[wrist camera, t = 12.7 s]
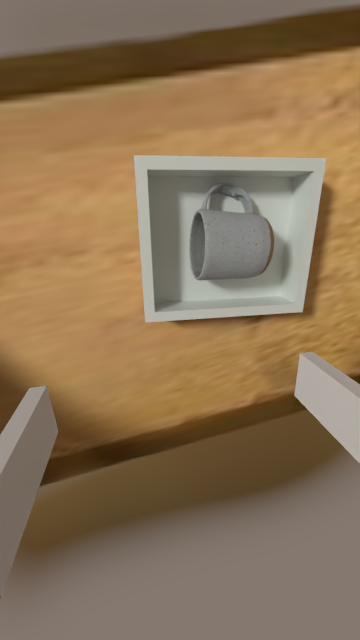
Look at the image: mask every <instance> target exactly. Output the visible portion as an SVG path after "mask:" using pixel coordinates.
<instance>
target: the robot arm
mask: <svg viewBox="0 0 360 640" xmlns="http://www.w3.org/2000/svg"><path fill="white" fill-rule="evenodd" d="M294 396H295V397H296V398H297V399H298V400H299V401H300V402H301V403H302V404H303V405H304V406H305V407H306V408H307V409H308V410H309V411H310V412H311V413H312V414H313V415H314V416H315V417H316V418H317V419H318V420H319V421H320V423H321V424H322V425H323V426H324V427H325V428H326V429H327V430H328V431H329V432H330V433H331V434H332V435H333V436H334V437H335V438H336V439H337V440H338V441H339V442H340V443H341V444H342V445H343V446H344V448H345V449H346V450H347V451H348V452H349V453H350V454H352V456H353V457H354V458H355V459H356V460H357V461H358V462H359V463H360V384H358V383H357V382H355V381H354V380H352V379H351V378H350V377H348V376H347V375H345V374H344V373H342V372H341V371H339V370H338V369H337V368H335V367H334V366H332V365H331V364H329V363H328V362H327V361H325V360H324V359H322V358H321V357H319V356H318V355H316V354H315V353H314V352H308V353H300V358H299V365H298V372H297V380H296V387H295V394H294ZM58 432H59V431H58V428H57V424H56V420H55V416H54V412H53V408H52V404H51V400H50V396H49V392H48V388H47V386H41V387H33V388H29V390H28V391H27V393H26V394H25V396H24V398H23V399H22V401H21V402H20V404H19V406H18V407H17V409H16V410H15V412H14V414H13V415H12V417H11V418H10V420H9V422H8V423H7V425H6V427H5V428H4V430H3V431H2V433H1V435H0V598H1V594H2V592H3V589H4V586H5V583H6V580H7V577H8V575H9V571H10V569H11V566H12V563H13V560H14V557H15V555H16V552H17V549H18V546H19V543H20V540H21V537H22V535H23V532H24V529H25V526H26V523H27V520H28V517H29V515H30V512H31V509H32V506H33V503H34V500H35V497H36V495H37V492H38V489H39V486H40V483H41V480H42V477H43V475H44V472H45V469H46V466H47V463H48V460H49V457H50V455H51V452H52V449H53V446H54V443H55V440H56V437H57V435H58Z"/></svg>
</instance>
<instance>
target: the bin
mask: <svg viewBox="0 0 360 640" xmlns="http://www.w3.org/2000/svg"><path fill="white" fill-rule="evenodd" d="M134 163H135V178H136V193H137V208H138V222H139V237H140V252H141V267H142V281H143V296H144V311H145V322H159V321H174V320H190V319H205V318H220V317H235V316H250V315H265V314H280V313H296V312H303V306H304V300H305V293H306V287H307V280H308V274H309V267H310V261H311V255H312V248H313V242H314V235H315V229H316V222H317V216H318V209H319V203H320V196H321V190H322V183H323V177H324V170H325V164H326V158H275V157H210V156H145V155H134ZM218 183H232V184H235V185H237V186H239V187H241V188H242V189H243V190H245V191H246V193H247V194H248V195H249V197H250V200H251V202H252V206H253V214H257V215H260V216H263V217H265V218H266V219H267V220H268V221H269V223H270V225H271V226H272V229H273V234H274V250H273V255H272V259H271V261H270V263H269V265H268V267H267V269H266V270H265V271H264V272H263V273H262V274H260V275H258V276H256V277H251V278H245V279H222V280H202V281H200V280H196V279H195V278H194V276H193V274H192V271H191V266H190V258H189V240H190V230H191V225H192V220H193V217H194V214H195V213H196V211H197V210H199V209H201V207H202V203H203V200H204V198H205V196H206V195H207V193H208V191H209V190H210V189H211V188H212V187H213V186H214V185H216V184H218ZM207 210H217V211H227V212H237V213H245V211H244V207H243V204H242V203H241V201H240V200H239V199H238V198H237V197H236V196H235V197H233V196H231V195H228V194H222V193H215V194H212V195H211V196H210V197H209V200H208V203H207Z"/></svg>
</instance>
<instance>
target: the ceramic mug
mask: <svg viewBox="0 0 360 640" xmlns="http://www.w3.org/2000/svg"><path fill="white" fill-rule="evenodd" d="M215 193H222V194H228V195H231V196H233V197H235V196H236V197H237V198H238V199H239V200H240V201H241V203H242V204H243V207H244V211H245V213H237V212H227V211H217V210H207V203H208V200H209V197H210V196H211V195H212V194H215ZM273 250H274V234H273V229H272V226H271V225H270V223H269V221H268V220H267V219H266V218H265V217H263V216H260V215H257V214H253V206H252V202H251V200H250V197H249V195H248V194H247V193H246V191H245V190H243V189H242V188H241V187H239V186H237V185H235V184H232V183H218V184H216V185H214V186H213V187H212V188H211V189H210V190H209V191H208V193H207V195H206V196H205V198H204V200H203V203H202V207H201V209H199V210H197V211H196V213H195V214H194V217H193V220H192V225H191V230H190V240H189V258H190V266H191V271H192V274H193V276H194V278H195V279H196V280H200V281H202V280H222V279H245V278H251V277H256V276H258V275H260V274H262V273H263V272H264V271H265V270H266V269H267V267H268V265H269V263H270V261H271V259H272V255H273Z"/></svg>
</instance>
